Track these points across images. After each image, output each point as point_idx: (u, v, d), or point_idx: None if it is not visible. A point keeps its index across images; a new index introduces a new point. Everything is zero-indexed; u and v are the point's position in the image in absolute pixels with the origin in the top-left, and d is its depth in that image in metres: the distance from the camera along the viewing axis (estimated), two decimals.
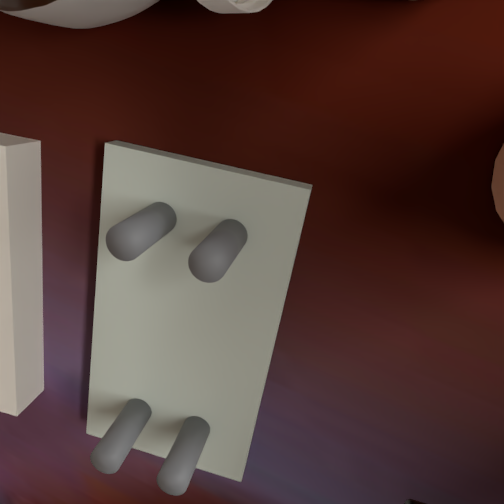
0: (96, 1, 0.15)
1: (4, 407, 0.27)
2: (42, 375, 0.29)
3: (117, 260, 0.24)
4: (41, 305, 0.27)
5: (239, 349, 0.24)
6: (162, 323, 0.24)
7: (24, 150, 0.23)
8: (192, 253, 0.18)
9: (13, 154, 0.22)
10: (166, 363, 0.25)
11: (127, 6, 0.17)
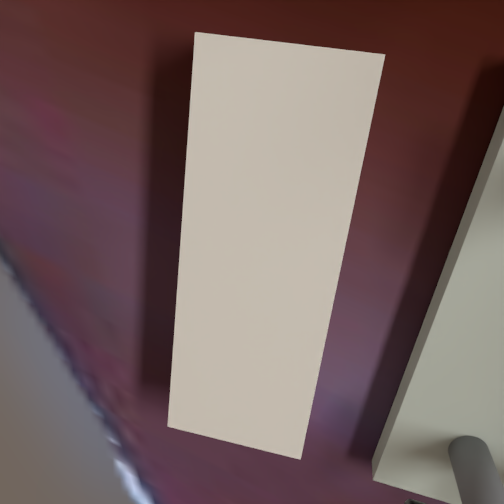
0: None
1: (282, 447, 0.19)
2: None
3: (499, 239, 0.16)
4: None
5: None
6: None
7: None
8: None
9: None
10: None
11: None
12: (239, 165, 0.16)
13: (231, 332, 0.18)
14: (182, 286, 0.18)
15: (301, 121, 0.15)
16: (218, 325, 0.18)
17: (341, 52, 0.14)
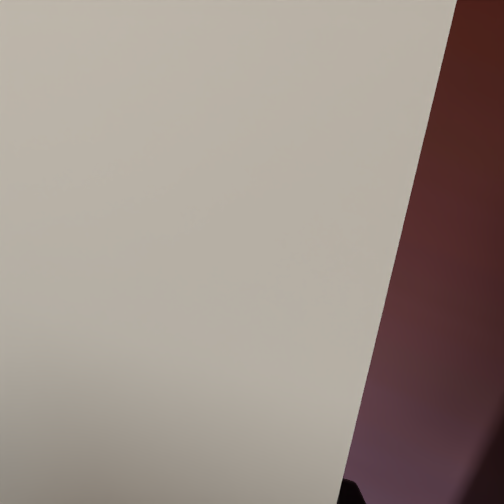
0: None
1: None
2: None
3: None
4: None
5: None
6: None
7: None
8: None
9: None
10: None
11: None
12: (70, 282, 0.06)
13: None
14: None
15: (214, 179, 0.05)
16: None
17: None
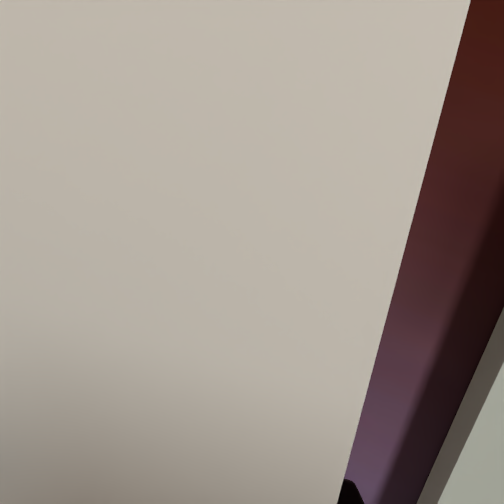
0: None
1: None
2: None
3: None
4: None
5: None
6: None
7: None
8: None
9: None
10: None
11: None
12: (80, 282, 0.06)
13: None
14: None
15: (225, 184, 0.05)
16: None
17: None
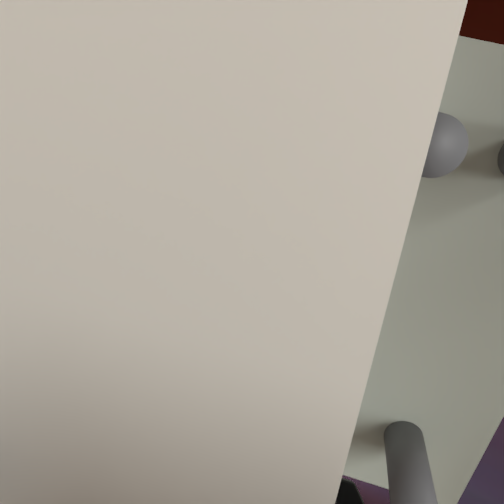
0: None
1: None
2: None
3: None
4: None
5: (495, 329, 0.17)
6: None
7: None
8: None
9: None
10: None
11: None
12: (78, 280, 0.06)
13: None
14: None
15: (223, 181, 0.05)
16: None
17: None
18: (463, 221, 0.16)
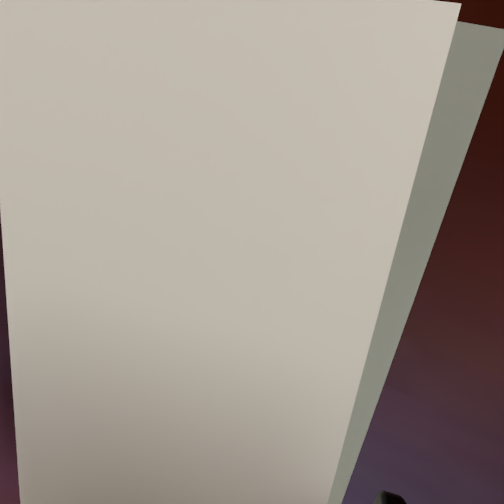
0: None
1: None
2: None
3: None
4: None
5: None
6: None
7: None
8: None
9: None
10: None
11: None
12: (112, 260, 0.07)
13: None
14: (27, 472, 0.09)
15: (244, 171, 0.06)
16: None
17: None
18: None
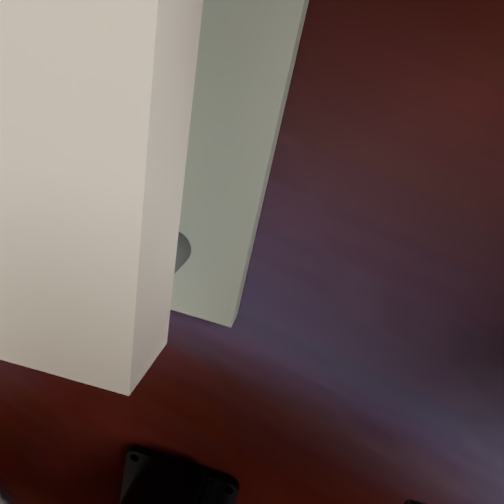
0: None
1: (103, 377, 0.14)
2: (163, 321, 0.15)
3: None
4: (178, 175, 0.13)
5: (232, 116, 0.17)
6: None
7: None
8: None
9: None
10: None
11: None
12: None
13: (13, 197, 0.12)
14: None
15: None
16: None
17: None
18: None
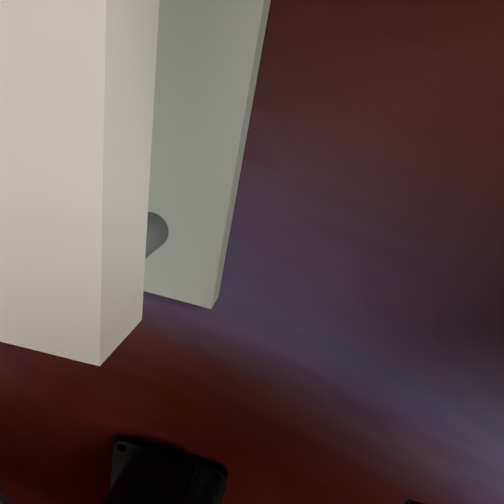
0: None
1: (74, 348, 0.14)
2: (136, 296, 0.15)
3: None
4: (143, 146, 0.14)
5: (203, 95, 0.17)
6: None
7: None
8: None
9: None
10: None
11: None
12: None
13: None
14: None
15: None
16: None
17: None
18: None
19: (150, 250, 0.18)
